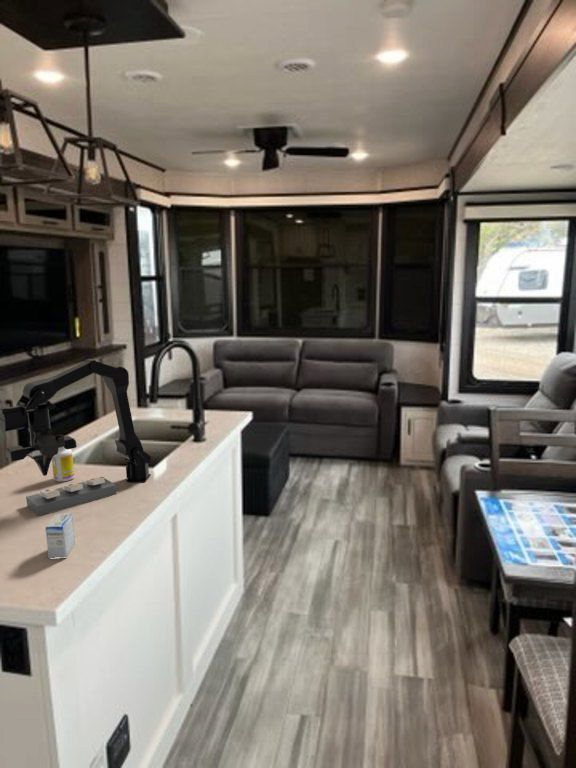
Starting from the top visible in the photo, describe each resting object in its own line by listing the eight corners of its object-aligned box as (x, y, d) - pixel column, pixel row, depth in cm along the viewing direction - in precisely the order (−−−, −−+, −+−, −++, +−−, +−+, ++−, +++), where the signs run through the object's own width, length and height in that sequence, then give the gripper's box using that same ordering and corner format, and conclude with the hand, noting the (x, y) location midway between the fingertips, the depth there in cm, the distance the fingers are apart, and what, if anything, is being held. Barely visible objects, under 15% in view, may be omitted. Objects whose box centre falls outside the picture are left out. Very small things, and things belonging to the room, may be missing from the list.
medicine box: (58, 545, 147) (54, 513, 146) (76, 544, 148) (72, 512, 146) (48, 560, 140) (44, 527, 138) (67, 559, 140) (63, 526, 138)
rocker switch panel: (103, 485, 188) (102, 475, 188) (116, 493, 181) (115, 483, 180) (27, 506, 173) (25, 495, 172) (38, 516, 165) (37, 504, 165)
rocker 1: (40, 495, 171) (40, 491, 171) (53, 492, 174) (52, 487, 174) (47, 498, 167) (46, 494, 167) (59, 495, 169) (59, 491, 169)
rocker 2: (86, 484, 180) (85, 480, 180) (97, 481, 183) (96, 477, 183) (93, 485, 176) (93, 481, 176) (105, 482, 178) (104, 478, 178)
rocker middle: (64, 489, 176) (63, 485, 176) (75, 486, 178) (75, 482, 178) (71, 491, 171) (70, 487, 171) (83, 488, 174) (82, 484, 174)
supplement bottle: (78, 475, 198) (74, 440, 196) (69, 482, 192) (65, 445, 189) (59, 475, 199) (56, 439, 196) (50, 482, 192) (46, 445, 190)
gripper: (14, 437, 156) (20, 490, 159) (81, 424, 168) (86, 474, 171) (2, 429, 164) (8, 480, 167) (67, 417, 176) (71, 465, 179)
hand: (44, 475), depth 171 cm, fingers closed
